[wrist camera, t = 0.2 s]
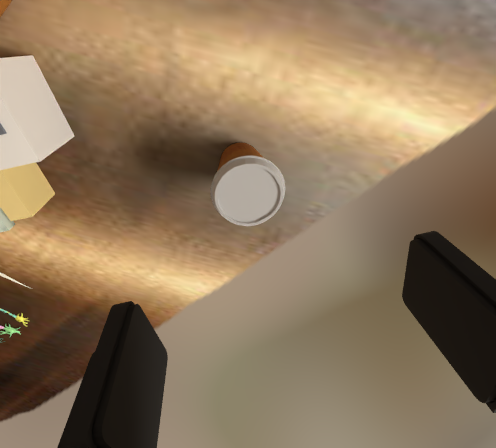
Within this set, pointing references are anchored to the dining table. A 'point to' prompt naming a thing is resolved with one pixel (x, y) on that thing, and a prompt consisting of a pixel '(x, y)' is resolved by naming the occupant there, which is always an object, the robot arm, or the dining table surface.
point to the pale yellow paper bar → (23, 191)
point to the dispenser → (28, 114)
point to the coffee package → (4, 5)
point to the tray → (5, 222)
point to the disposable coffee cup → (246, 186)
